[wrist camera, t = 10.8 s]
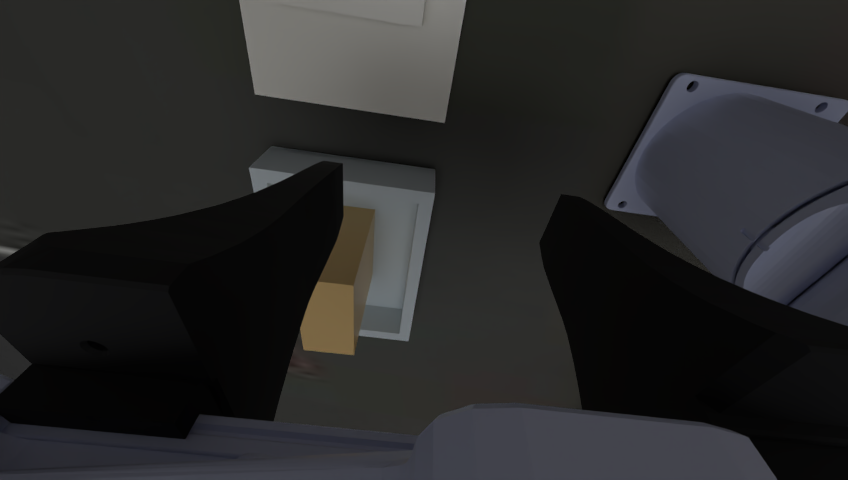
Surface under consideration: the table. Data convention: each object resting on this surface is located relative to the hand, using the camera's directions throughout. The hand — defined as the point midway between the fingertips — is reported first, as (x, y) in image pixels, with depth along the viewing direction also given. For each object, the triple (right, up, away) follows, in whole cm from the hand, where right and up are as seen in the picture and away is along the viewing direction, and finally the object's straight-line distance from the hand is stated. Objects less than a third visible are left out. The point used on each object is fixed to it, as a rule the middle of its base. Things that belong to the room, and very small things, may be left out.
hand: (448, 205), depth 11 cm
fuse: (-6, -1, +13) cm, 14 cm away
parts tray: (-6, -1, +13) cm, 15 cm away
